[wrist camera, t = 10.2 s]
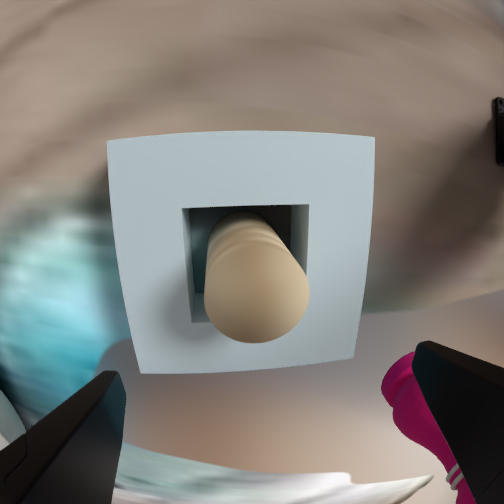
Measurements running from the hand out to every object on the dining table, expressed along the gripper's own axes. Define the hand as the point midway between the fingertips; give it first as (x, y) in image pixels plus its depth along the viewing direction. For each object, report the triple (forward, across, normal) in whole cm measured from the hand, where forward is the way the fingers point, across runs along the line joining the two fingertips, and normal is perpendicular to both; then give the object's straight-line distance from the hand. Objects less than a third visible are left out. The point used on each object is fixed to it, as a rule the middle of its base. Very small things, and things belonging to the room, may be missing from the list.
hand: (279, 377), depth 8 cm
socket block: (+13, 0, 0) cm, 13 cm away
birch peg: (+13, 0, 0) cm, 13 cm away
